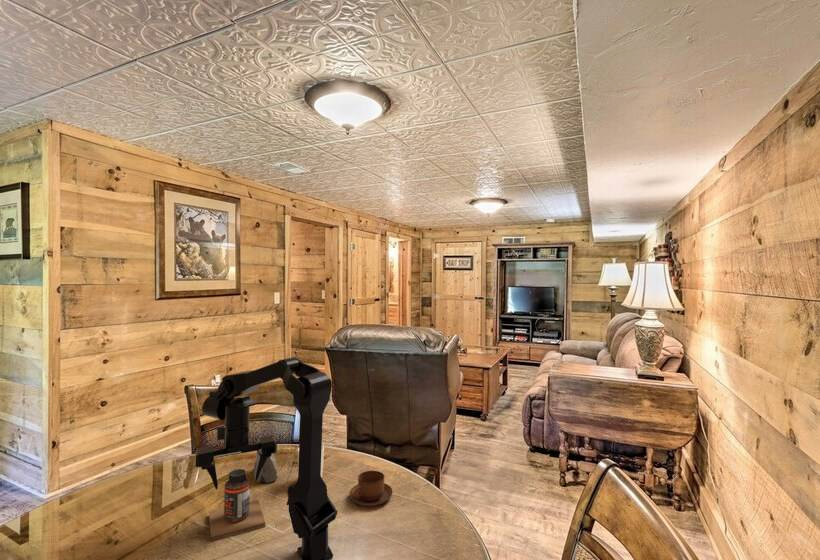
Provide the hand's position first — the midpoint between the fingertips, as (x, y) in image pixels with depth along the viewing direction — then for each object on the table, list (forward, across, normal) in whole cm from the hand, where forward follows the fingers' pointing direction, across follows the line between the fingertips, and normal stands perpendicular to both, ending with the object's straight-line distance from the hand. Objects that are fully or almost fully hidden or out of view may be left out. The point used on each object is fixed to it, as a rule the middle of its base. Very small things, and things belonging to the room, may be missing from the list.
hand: (236, 484), depth 102 cm
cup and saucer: (+10, -34, +6) cm, 36 cm away
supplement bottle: (+8, 0, 0) cm, 8 cm away
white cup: (+9, -22, -12) cm, 27 cm away
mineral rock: (+10, -12, -23) cm, 27 cm away
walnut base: (+9, 0, 0) cm, 9 cm away
